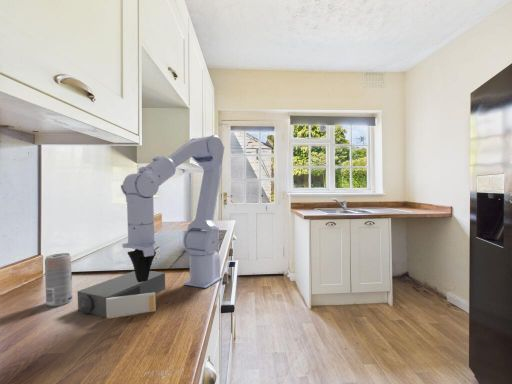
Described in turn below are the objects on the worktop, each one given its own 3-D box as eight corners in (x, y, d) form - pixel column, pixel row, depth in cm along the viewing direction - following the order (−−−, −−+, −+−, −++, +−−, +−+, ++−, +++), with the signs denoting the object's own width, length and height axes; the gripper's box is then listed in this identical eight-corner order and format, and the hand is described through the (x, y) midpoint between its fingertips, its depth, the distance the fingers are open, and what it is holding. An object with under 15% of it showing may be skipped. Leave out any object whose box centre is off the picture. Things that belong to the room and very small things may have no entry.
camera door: (155, 309, 61) (155, 292, 61) (155, 312, 60) (154, 294, 60) (107, 316, 58) (107, 298, 58) (105, 319, 57) (105, 300, 57)
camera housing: (139, 284, 79) (139, 269, 79) (165, 288, 75) (165, 273, 75) (73, 311, 62) (73, 292, 62) (103, 319, 58) (102, 299, 58)
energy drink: (68, 296, 71) (67, 252, 71) (75, 301, 68) (73, 254, 68) (43, 303, 67) (42, 256, 67) (49, 309, 64) (47, 259, 63)
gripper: (117, 222, 66) (118, 276, 66) (128, 228, 54) (130, 294, 54) (146, 220, 70) (148, 270, 70) (163, 225, 58) (164, 286, 59)
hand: (142, 280), depth 63 cm, fingers closed
